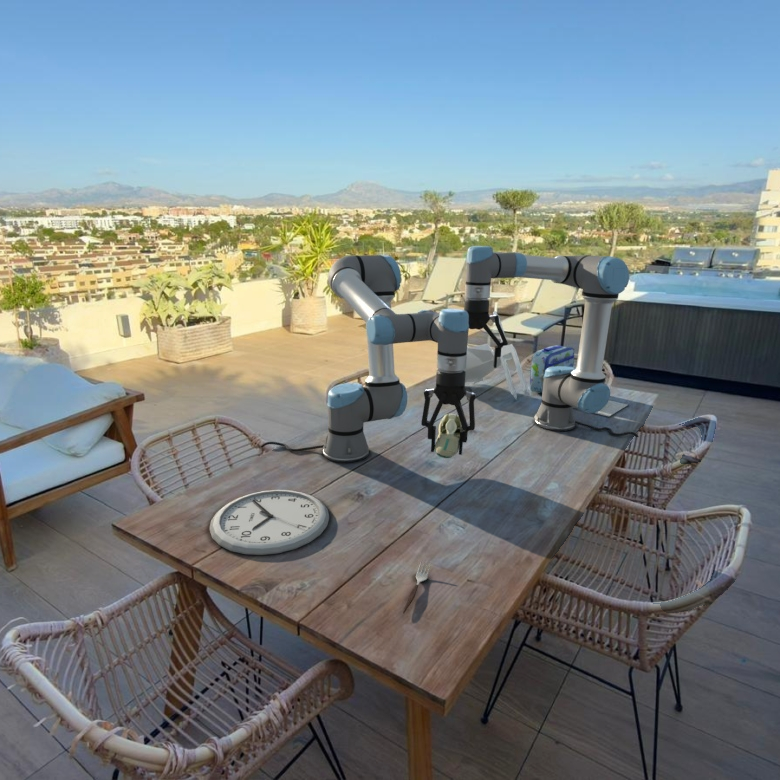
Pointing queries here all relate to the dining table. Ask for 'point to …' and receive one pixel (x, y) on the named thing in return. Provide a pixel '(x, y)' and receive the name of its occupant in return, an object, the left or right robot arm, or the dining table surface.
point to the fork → (420, 577)
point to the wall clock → (269, 522)
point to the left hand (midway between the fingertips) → (446, 451)
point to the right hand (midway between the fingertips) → (473, 366)
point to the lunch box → (548, 363)
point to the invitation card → (611, 408)
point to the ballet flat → (448, 436)
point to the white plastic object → (483, 360)
